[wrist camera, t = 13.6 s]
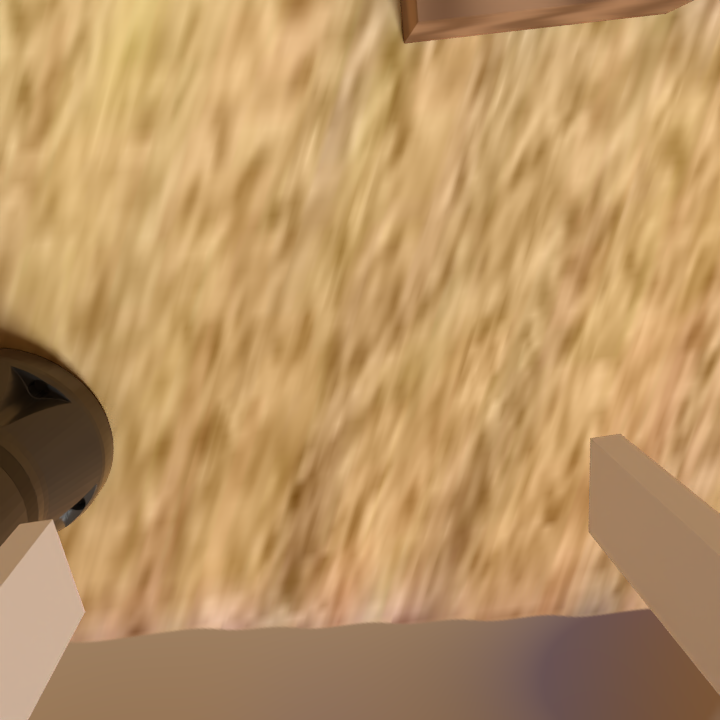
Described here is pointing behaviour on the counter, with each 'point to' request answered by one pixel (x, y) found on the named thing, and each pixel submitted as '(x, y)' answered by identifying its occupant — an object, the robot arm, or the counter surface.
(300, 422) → the counter surface
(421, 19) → the socket block
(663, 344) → the counter surface
